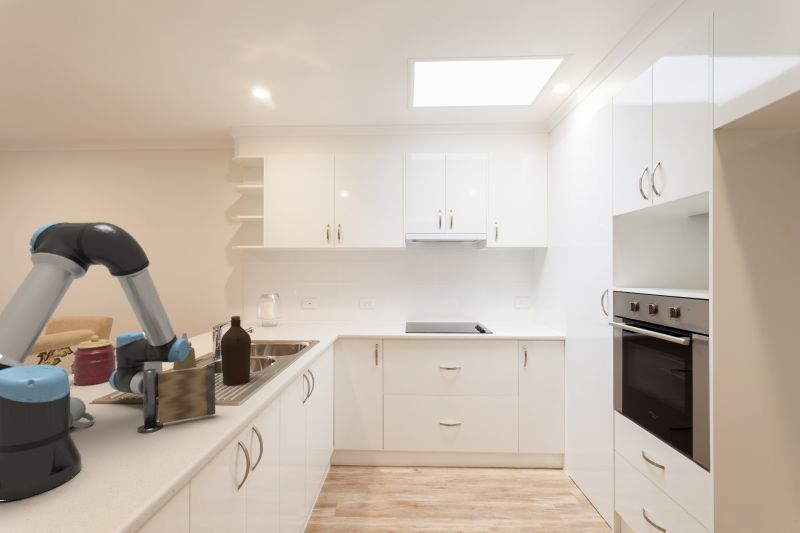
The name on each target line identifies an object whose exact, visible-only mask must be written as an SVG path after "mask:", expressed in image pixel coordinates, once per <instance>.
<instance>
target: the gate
mask: <svg viewBox="0 0 800 533" xmlns="http://www.w3.org/2000/svg"><path fill="white" fill-rule="evenodd" d="M215 367H216V365H215V363H209V364H206V365H205V366H204V365H203V366H196V368H188V369H181V370H173V369H172V370H166V371H162V372H158V397H157V398H158V422H159V424H163V425H164V424H167V423H172V422H178V421H184V420H188V419H194V418H199V417H204V416H210V415H212V416H213V415H216V378H215V377H216V375H215V374H216V369H215Z"/></svg>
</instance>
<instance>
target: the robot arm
mask: <svg viewBox="0 0 800 533" xmlns="http://www.w3.org/2000/svg"><path fill="white" fill-rule="evenodd" d="M29 240H30V241H29V245H30V247H29V251H30V255H31V256H30V261H31V263H32V265H33V267H32V268H31V269H30V271H29V272H28V274H27V275H26V276H25V277H24V279H23V280H22V282H21V284H20V285H19V286H18V288H17V289H16V291H15V292H14V294H13V295H12V296H11V297H10V299H9V301H8V302H7V303H6V305H5V306H4V308H3V309H2V311H1V312H0V500H6V501H5V502H8V501H7V500H11V501H16V499H17V500H21V499H24V498H28V497H32V496H35V495H39V494H41V493H44V492H46V491H49V490H51V489H54V488H57V487H58V486H60V485H62V484H64V483H66V482H67V481H69V480H70V479H72V478H73V477H75V476H76V475H77V474H78V473H79V472H80V471H81V469H82V457H81V453H80V451H79V450H78V448H77V445H76V443H75V442H74V439H73V438H72V435H71V427H70V397H71V383H70V381H69V380H70V379H69V373H68V371H67V370H66V369H65V368H63V367H62V366H58V365H52V364H35V365H34V364H33V365H31V364H25V365H24V363H25V361H26V359H27V357H28V356H29V354H30V353H31V351H32V350H33V347H34V346H35V344H36V342H37V341H38V340H39V338H40V336H41V334H42V332H43V331H44V329H45V328H46V326H47V324H48V323H49V321H50V319H51V318H52V316H53V315H54V313H55V311H56V310H57V308H58V306H59V305H60V303H61V301H62V300H63V299H64V297H65V295H66V294H67V292H68V290H69V289H70V287H71V285H72V283H73V282H74V280H77V279H82V278H83V277H85V275H86V274H87V272H88V270H89V269H90V267H91V266H100V265H102V266H104V267H106V269H108V272H109V274H110V275H111V277H114V278H117V280H118V282H119V285H120V286H121V289H122V291H123V292H124V294H125V296H126V298H127V301H128V302H129V304H130V307H131V309H132V311H133V313H134V315H135V317H136V319H137V321H138V324H139V325H140V327H141V330H142V331H130V332H122V333H120V334H118V335H117V336H116V342H115V343H116V344H115V347H116V349H115V356H116V358H115V359H116V370H115V371H114V372H113V373H112V375H111V377H110V379H109V381H108V382H109V386H110V387H111V388H112V389H113V390H115V391H118V392H120V393H126V394H127V393H129V394H133V395H139V396H143V371H144V365H145V362H162V363H170V364H171V363H174V362H181V361H183V360H185V359H186V357H187V356H188V354H189V349H190V347H189V343H188V342H189V340H188V341H186V340H185V339H182V337H181V338H180V337H179V338H178V337H177V334H176V332H175V330H174V328H173V325H172V323H171V321H170V318H169V316H168V313H167V311H166V310H165V306H164V304H163V302H162V299H161V297H160V294H159V292H158V290H157V288H156V286H155V283H154V281H153V277H152V276H151V274H150V271H149V269H148V268H149V267H150V265H151V263H150V261H149V258H148V256H147V253H146V252H145V250H144V249H143V247H142V246H141V244H139V242H138V241H137V240H136V239H135V238H134V237H133V236H132V235H131V233H130V232H128V231H126V230H125V229H124V228H122V227H120V226H118V225H117V224H116V225H115V224H113V223H110V222H106V221H105V222H102V221H99V222H98V221H97V222H67V221H63V222H55V223H49V224H46V225H43V226H41V227H39V228H37V230H36V231H34V233H33V234H32V236H31V238H30V239H29ZM142 332H144V333H142ZM144 334H145V336H146V338H147V339H145V337H144ZM156 395H157V398H159V397H158V372H156Z"/></svg>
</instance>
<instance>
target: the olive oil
mask: <svg viewBox="0 0 800 533" xmlns="http://www.w3.org/2000/svg"><path fill="white" fill-rule="evenodd" d="M230 318H231V320H230V327H229V328H228V330H227V331H226V332H225V333H224V334H223V336H222V337H221V340H220V353H221V356H220V357H221V372H222V383H223V385H224V386H227V387H230V386H231V387H232V386H233V387H234V386H240V385H244V384H247V383H249V382H250V381H251V380H250V379H251V353H252V351H251V350H252V349H251V348H252V339H251V336H250V334H249V333H248V332H247V330H245V328H243V326H242V325H241V321H242V320H241V316H240V315H233V316H231V317H230Z"/></svg>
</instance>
